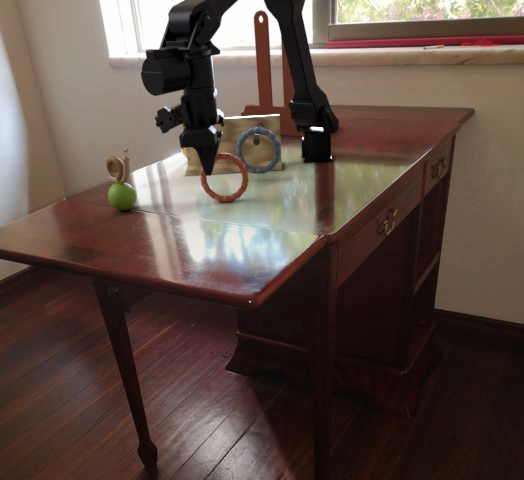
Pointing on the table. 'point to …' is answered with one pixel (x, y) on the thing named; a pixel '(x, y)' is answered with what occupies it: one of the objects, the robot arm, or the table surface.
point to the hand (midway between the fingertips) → (209, 174)
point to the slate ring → (269, 135)
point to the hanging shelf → (265, 80)
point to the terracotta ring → (243, 186)
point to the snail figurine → (120, 183)
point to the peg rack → (254, 147)
